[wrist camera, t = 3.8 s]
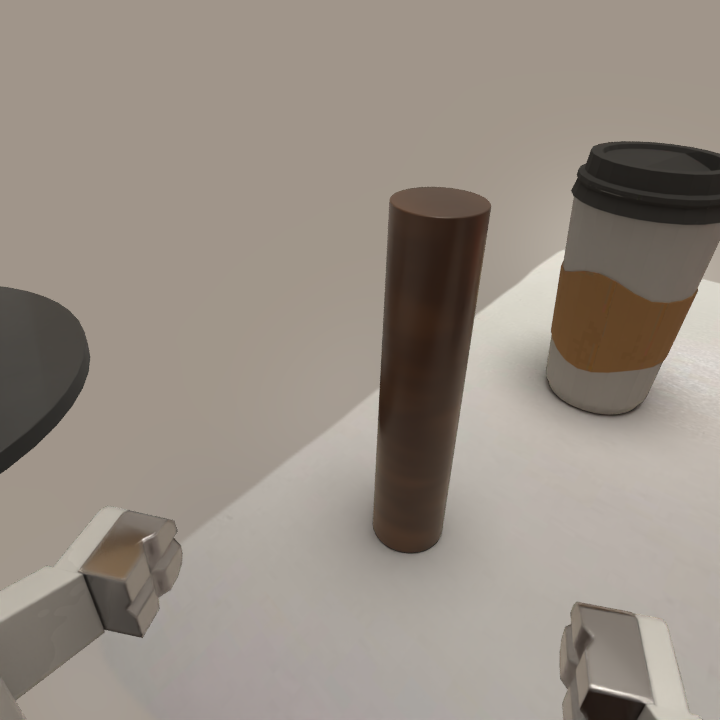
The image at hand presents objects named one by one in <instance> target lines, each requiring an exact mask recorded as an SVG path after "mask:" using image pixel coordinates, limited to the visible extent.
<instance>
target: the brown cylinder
mask: <svg viewBox="0 0 720 720" xmlns="http://www.w3.org/2000/svg"><path fill="white" fill-rule="evenodd" d="M490 211H491V204H490V202H489V201H488V200H487V199H486V198H484V197H482V196H480V195H477V194H475V193H472V192H468V191H464V190H459V189H453V188H444V187H419V188H411V189H406V190H402V191H399V192H397V193H395V194H393V195H392V196H391V198H390V202H389V222H388V241H387V242H388V243H387V262H386V279H385V299H384V300H385V301H384V318H383V338H382V358H381V376H380V395H379V414H378V434H377V453H376V472H375V491H374V511H373V528H374V531H375V533H376V535H377V537H378V538H379V539H380V540H381V541H382V542H383V543H384V544H385V545H387V546H388V547H390V548H392V549H394V550H397V551H400V552H406V553H415V552H421V551H424V550H426V549H429V548H430V547H432V546H433V545H434V544H435V543H436V542H437V541H438V540H439V538H440V536H441V533H442V528H443V521H444V515H445V508H446V502H447V495H448V488H449V482H450V475H451V469H452V462H453V455H454V449H455V442H456V436H457V429H458V422H459V416H460V409H461V402H462V396H463V389H464V383H465V376H466V369H467V363H468V356H469V350H470V343H471V336H472V330H473V323H474V317H475V309H476V303H477V296H478V290H479V283H480V277H481V270H482V263H483V257H484V250H485V244H486V237H487V230H488V224H489V217H490Z"/></svg>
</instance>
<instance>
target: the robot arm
mask: <svg viewBox="0 0 720 720" xmlns="http://www.w3.org/2000/svg"><path fill="white" fill-rule="evenodd" d="M176 533H177V527H176V524H175V521H174V520H169V519H165V518H161V517H156V516H152V515H148V514H143V513H139V512H134V511H130V510H126V509H120V508H116V507H112V506H106V507H104V508H103V509H101V510H100V511H99V512H98V513H97V514H96V515H95V516H94V518H93V519H92V520H91V521H90V523H89V524H88V525H87V526H86V527H85V529H84V530H83V531H82V532H81V533H80V535H79V536H78V537H77V538H76V540H75V541H74V542H73V543H72V544H71V546H70V547H69V548H68V549H67V551H66V552H65V553H64V554H63V555H62V557H61V558H60V559H59V560H58V561H57V563H56V564H55V565H54V566H53V567H51V566H45V567H43V568H42V569H40V570H38V571H36V572H34V573H32V574H30V575H28V576H27V577H25V578H23V579H21V580H19V581H17V582H15V583H13V584H12V585H10V586H8V587H6V588H4V589H2V590H0V720H26V718H25V716H24V714H23V713H22V711H21V709H20V708H19V706H18V705H17V703H16V700H17V699H18V698H19V697H21V696H22V695H23V694H25V693H26V692H27V691H28V690H30V689H31V688H32V687H34V686H35V685H36V684H38V683H39V682H40V681H42V680H43V679H44V678H45V677H47V676H48V675H49V674H51V673H52V672H53V671H55V670H56V669H57V668H59V667H60V666H61V665H63V664H64V663H65V662H66V661H68V660H69V659H70V658H72V657H73V656H74V655H76V654H77V653H78V652H79V651H81V650H82V649H83V648H85V647H86V646H87V645H89V644H90V643H91V642H93V641H94V640H95V639H97V638H98V637H99V636H100V635H102V634H103V633H104V632H105V631H104V630H109V631H113V632H118V633H122V634H127V635H132V636H136V637H141V638H143V636H144V635H145V633H146V631H147V629H148V628H149V626H150V624H151V623H152V621H153V619H154V618H155V616H156V614H157V612H158V611H159V609H160V607H159V597H160V596H162V595H163V594H165V593H167V592H168V591H170V590H171V588H172V587H173V585H174V583H175V581H176V579H177V578H178V575H179V571H180V568H181V565H182V554H183V553H182V548H181V545H180V544H179V543H178V542H177V541H176V540H175V539H174V536H175V535H176ZM570 614H571V625H568V626H566V627H565V629H564V632H563V635H562V639H561V646H560V679H561V681H562V682H563V684H564V685H565V686H566V688H567V689H568V690H567V693H566V695H565V698H564V700H563V703H562V709H563V720H703V719H702V718H701V717H700V716H698V715H694V714H691V713H690V710H689V706H688V702H687V698H686V694H685V691H684V687H683V683H682V679H681V675H680V671H679V667H678V663H677V659H676V656H675V652H674V648H673V644H672V640H671V636H670V632H669V628H668V625H667V624H666V622H665V621H664V620H663V619H660V618H655V617H650V616H645V615H639V614H634V613H632V612H628V611H623V610H618V609H613V608H607V607H602V606H597V605H591V604H586V603H581V602H576V603H575V604H574V605H573V607H572V610H571V613H570Z"/></svg>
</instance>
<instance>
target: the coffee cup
mask: <svg viewBox="0 0 720 720" xmlns="http://www.w3.org/2000/svg"><path fill="white" fill-rule="evenodd" d="M577 177H578V178H577V180H576V182H575V184H574V186H573V188H572V190H571V191H572V193H573V196H574V200H573V206H572V212H571V218H570V225H569V231H568V237H567V243H566V249H565V255H564V261H563V263H562V265H561V270H560V277H559V283H558V289H557V296H556V302H555V308H554V315H553V321H552V327H551V333H552V336H551V342H550V348H549V355H548V361H547V367H546V374H547V378H548V380H549V385H550V387H551V389H552V390H553V392H554V393H555V394H556V395H557V396H558V397H559V398H561V399H562V400H564V401H565V402H567V403H568V404H570V405H572V406H575V407H577V408H579V409H582V410H585V411H589V412H593V413H599V414H621V413H625V412H629V411H630V410H632V409H634V408H635V407H636V406H637V405H638V404H640V403H642V402H643V401H644V399H645V398H646V397H647V395H648V393H649V390H650V388H651V386H652V384H653V382H654V380H655V378H656V375H657V373H658V371H659V369H660V367H661V365H662V363H663V361H664V360H665V358H666V357H667V355H668V353H669V351H670V349H671V347H672V345H673V342H674V340H675V338H676V336H677V334H678V332H679V330H680V328H681V326H682V323H683V321H684V319H685V317H686V315H687V313H688V311H689V309H690V307H691V304H692V302H693V300H694V298H695V296H696V294H697V292H698V286H699V284H700V282H701V279H702V277H703V275H704V273H705V271H706V269H707V267H708V264H709V262H710V260H711V258H712V256H713V254H714V252H715V250H716V248H717V245H718V243H719V241H720V154H719V153H715V152H711V151H708V150H702V149H698V148H693V147H687V146H680V145H674V144H664V143H654V142H653V143H652V142H625V141H624V142H623V141H622V142H608V143H603V144H598V145H596V146H593V148H592V149H591V152H590V155H589V157H588V160H587V163H586V164H584V165H582V166H581V167H580V168H579V170H578V173H577Z"/></svg>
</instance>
